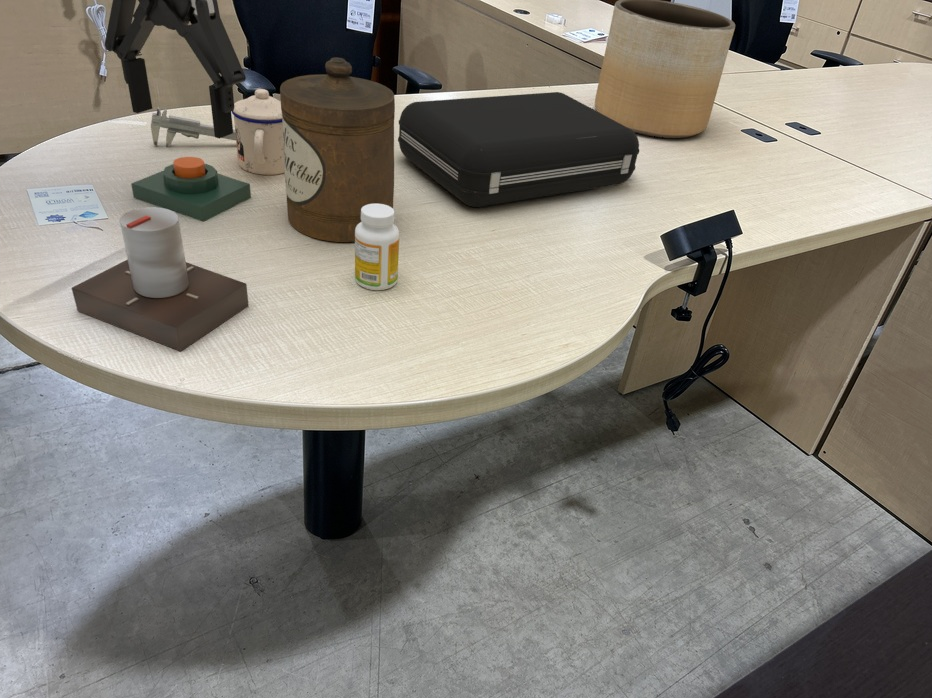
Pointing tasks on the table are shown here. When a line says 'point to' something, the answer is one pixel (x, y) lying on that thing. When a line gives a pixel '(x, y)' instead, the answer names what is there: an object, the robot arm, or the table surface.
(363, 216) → the supplement bottle
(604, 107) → the planter
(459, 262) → the table surface
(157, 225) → the dial
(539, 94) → the briefcase
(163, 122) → the caliper
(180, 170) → the button
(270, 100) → the teacup with lid
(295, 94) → the wooden container
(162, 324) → the brown rectangular base
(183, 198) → the button block
